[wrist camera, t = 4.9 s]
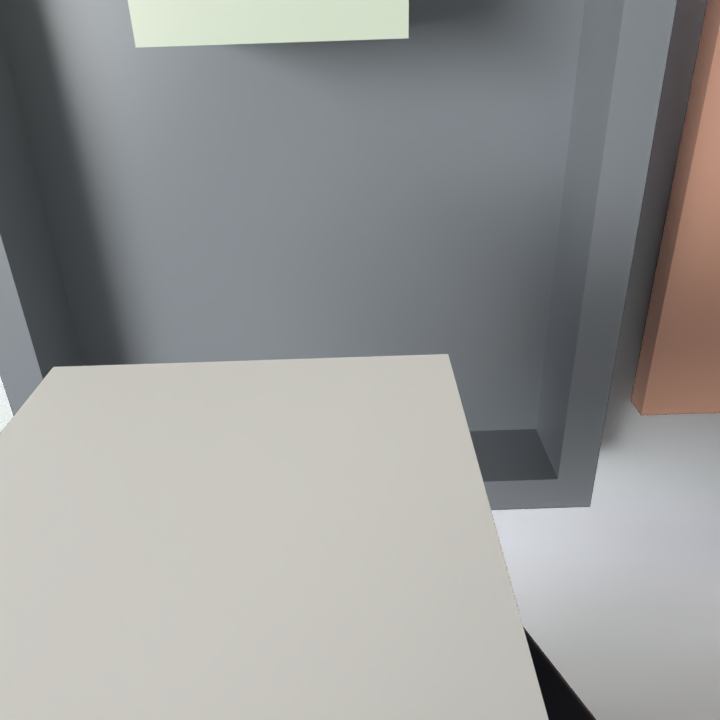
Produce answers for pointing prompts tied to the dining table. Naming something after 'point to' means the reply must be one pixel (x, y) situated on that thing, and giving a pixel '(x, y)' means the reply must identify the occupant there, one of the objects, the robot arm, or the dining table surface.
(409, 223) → the parts bin
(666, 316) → the pad
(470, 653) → the labelled box
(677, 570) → the dining table surface
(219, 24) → the plain box
